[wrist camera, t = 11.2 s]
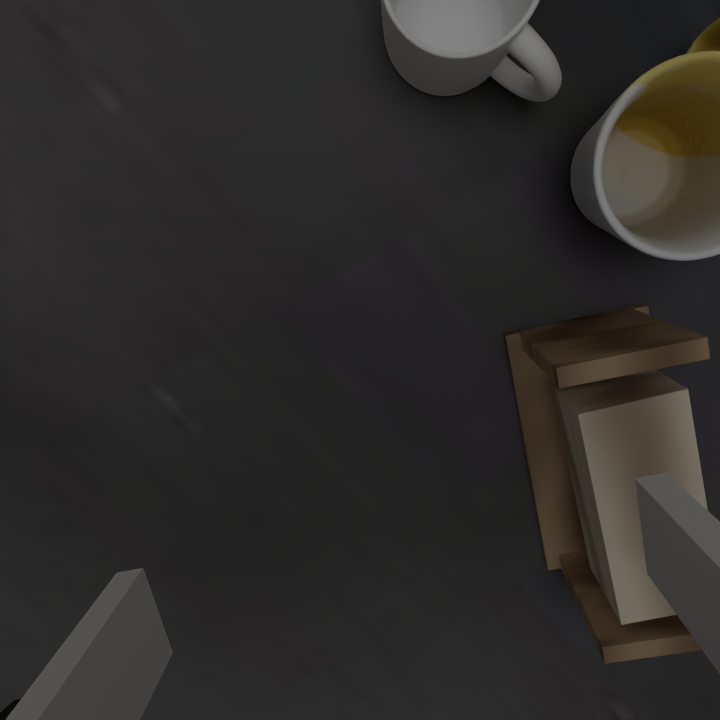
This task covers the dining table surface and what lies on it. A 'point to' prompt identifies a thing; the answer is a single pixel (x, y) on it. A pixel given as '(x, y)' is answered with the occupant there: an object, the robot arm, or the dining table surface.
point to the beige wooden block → (626, 474)
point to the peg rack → (549, 461)
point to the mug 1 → (469, 46)
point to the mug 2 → (659, 158)
